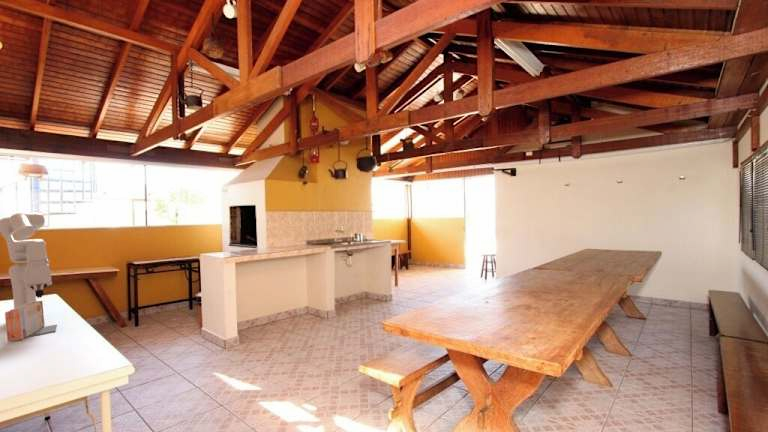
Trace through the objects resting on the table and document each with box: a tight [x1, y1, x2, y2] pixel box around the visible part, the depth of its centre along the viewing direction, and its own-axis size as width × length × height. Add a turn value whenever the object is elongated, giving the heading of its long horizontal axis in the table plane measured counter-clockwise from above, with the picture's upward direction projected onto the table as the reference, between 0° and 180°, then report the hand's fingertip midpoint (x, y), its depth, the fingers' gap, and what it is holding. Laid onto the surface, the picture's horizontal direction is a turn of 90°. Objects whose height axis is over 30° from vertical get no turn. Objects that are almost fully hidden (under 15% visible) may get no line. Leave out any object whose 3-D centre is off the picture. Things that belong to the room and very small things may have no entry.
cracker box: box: [4, 300, 46, 342], centre depth 183 cm, size 14×6×21 cm
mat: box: [24, 324, 58, 339], centre depth 187 cm, size 14×12×1 cm
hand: (39, 297), depth 196 cm, fingers closed
